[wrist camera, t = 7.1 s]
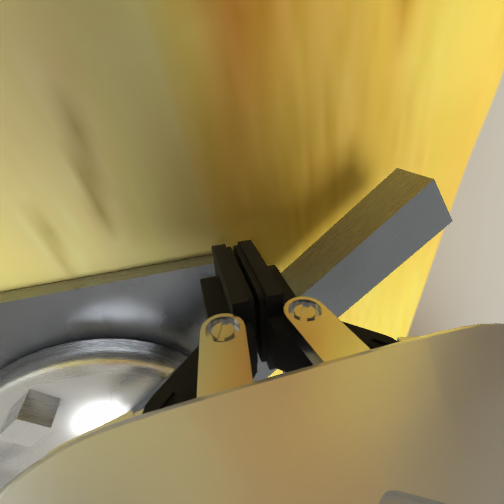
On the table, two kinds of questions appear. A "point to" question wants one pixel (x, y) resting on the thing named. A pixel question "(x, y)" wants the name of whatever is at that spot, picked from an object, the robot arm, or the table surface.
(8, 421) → the grey disc with handle
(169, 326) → the plate
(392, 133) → the table surface
